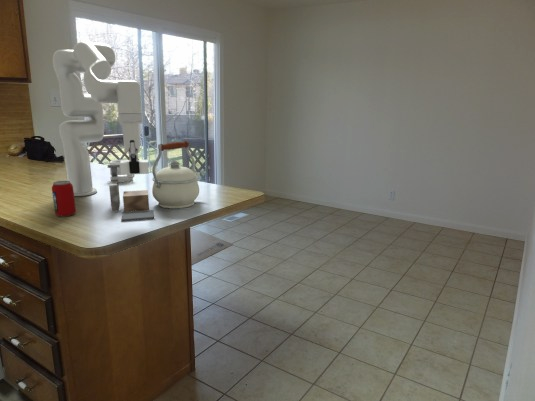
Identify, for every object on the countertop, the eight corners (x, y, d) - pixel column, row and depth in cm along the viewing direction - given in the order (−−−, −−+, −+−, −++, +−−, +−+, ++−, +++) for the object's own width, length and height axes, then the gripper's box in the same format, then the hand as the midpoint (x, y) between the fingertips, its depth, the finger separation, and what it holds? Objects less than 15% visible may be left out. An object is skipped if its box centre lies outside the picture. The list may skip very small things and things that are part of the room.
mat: (121, 221, 133) (121, 219, 132) (122, 214, 141) (122, 212, 141) (154, 219, 136) (154, 216, 136) (153, 211, 144) (153, 209, 144)
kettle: (173, 214, 142) (169, 146, 135) (139, 206, 151) (135, 143, 145) (216, 200, 162) (215, 140, 156) (184, 194, 171) (182, 137, 165)
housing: (111, 212, 142) (108, 186, 140) (113, 203, 155) (111, 179, 152) (149, 210, 146) (147, 184, 144) (148, 201, 159) (146, 177, 156)
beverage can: (60, 212, 143) (56, 180, 139) (79, 211, 143) (75, 180, 140) (52, 217, 136) (47, 184, 133) (71, 217, 137) (67, 184, 134)
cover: (121, 174, 130) (120, 163, 129) (121, 171, 136) (120, 160, 135) (148, 173, 133) (148, 162, 132) (148, 170, 138) (147, 159, 137)
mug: (106, 181, 195) (104, 161, 192) (121, 177, 205) (119, 158, 202) (127, 183, 190) (125, 163, 188) (141, 179, 200) (140, 160, 197)
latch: (108, 180, 149) (107, 165, 147) (109, 179, 152) (107, 164, 150) (127, 179, 151) (125, 165, 149) (127, 178, 154) (126, 163, 152)
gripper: (120, 117, 136) (124, 167, 141) (117, 120, 120) (122, 176, 125) (142, 117, 139) (145, 167, 143) (142, 120, 123) (146, 175, 127)
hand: (134, 171), depth 134 cm, fingers closed on cover, 6 cm apart
